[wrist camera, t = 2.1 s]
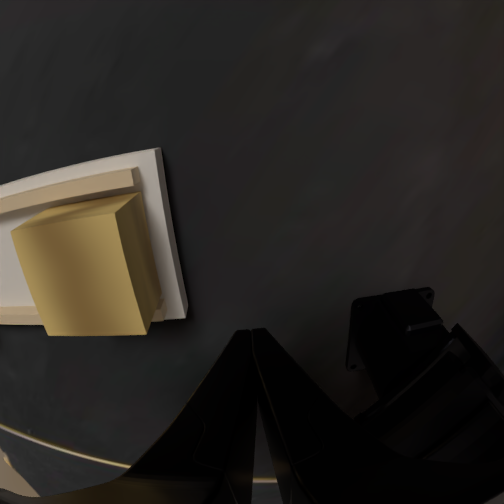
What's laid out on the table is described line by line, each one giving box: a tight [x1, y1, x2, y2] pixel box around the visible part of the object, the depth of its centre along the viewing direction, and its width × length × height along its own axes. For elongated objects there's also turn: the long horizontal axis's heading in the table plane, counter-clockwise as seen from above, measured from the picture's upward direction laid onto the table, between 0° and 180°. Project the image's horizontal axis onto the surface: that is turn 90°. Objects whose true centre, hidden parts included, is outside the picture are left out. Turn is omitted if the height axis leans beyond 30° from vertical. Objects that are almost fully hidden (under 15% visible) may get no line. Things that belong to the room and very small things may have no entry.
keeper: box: [10, 191, 162, 336], centre depth 15 cm, size 6×6×4 cm
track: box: [0, 147, 188, 325], centre depth 16 cm, size 22×10×6 cm, turn 95°
